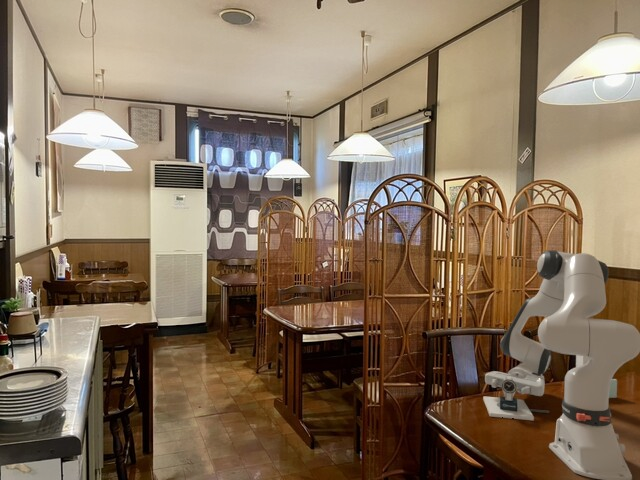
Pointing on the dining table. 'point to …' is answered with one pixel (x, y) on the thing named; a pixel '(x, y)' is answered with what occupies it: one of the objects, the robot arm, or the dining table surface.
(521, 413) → the charging pad
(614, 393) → the right angle wall
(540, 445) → the dining table surface
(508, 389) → the watch
